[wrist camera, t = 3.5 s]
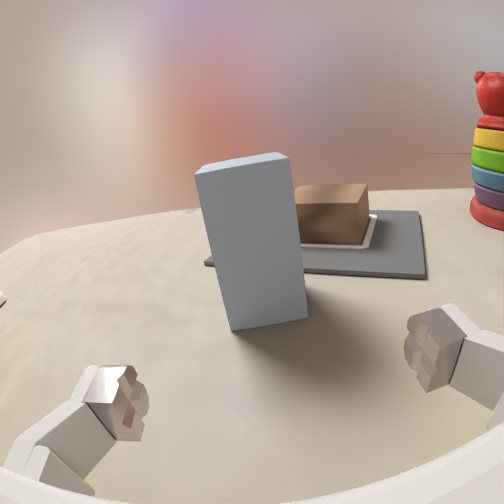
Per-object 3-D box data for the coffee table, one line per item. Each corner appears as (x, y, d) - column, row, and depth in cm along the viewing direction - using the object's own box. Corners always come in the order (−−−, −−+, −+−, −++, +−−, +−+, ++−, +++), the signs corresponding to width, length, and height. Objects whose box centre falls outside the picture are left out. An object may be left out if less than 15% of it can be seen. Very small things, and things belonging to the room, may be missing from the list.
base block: (280, 242, 31) (274, 204, 29) (304, 217, 37) (300, 185, 35) (359, 245, 27) (357, 202, 25) (369, 217, 33) (367, 183, 32)
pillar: (231, 331, 19) (194, 174, 15) (231, 292, 24) (204, 165, 20) (308, 317, 19) (289, 157, 15) (295, 282, 24) (276, 151, 20)
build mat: (204, 265, 30) (203, 260, 29) (270, 213, 42) (270, 210, 42) (424, 279, 20) (425, 273, 20) (418, 214, 33) (418, 210, 32)
